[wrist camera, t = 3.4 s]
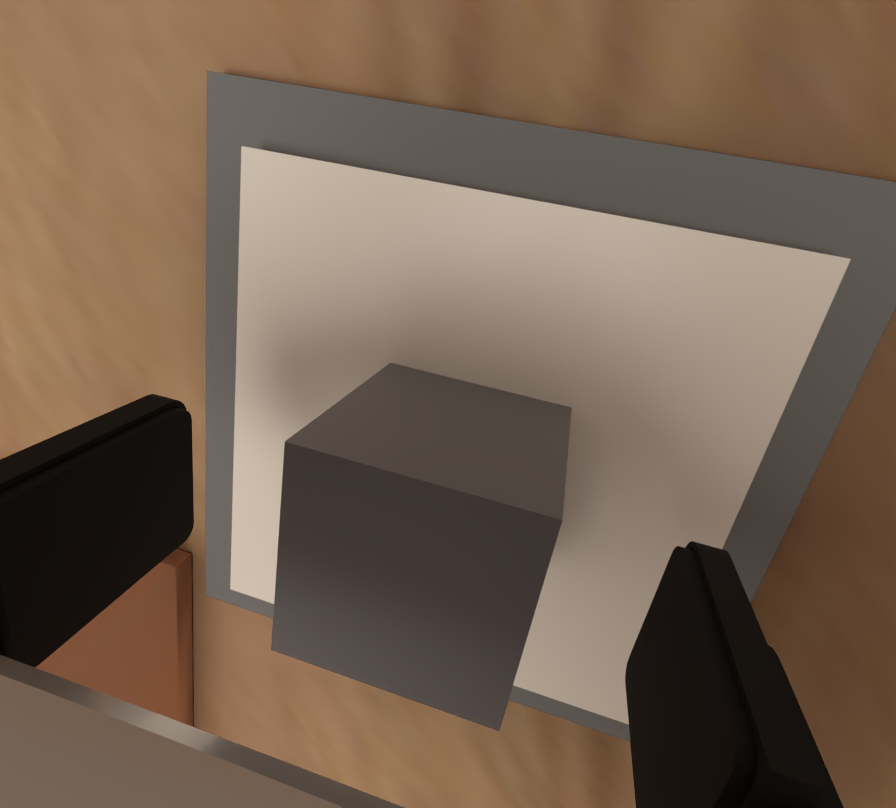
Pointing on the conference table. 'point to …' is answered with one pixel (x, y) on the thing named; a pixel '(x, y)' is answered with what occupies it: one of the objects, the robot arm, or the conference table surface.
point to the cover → (491, 424)
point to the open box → (139, 644)
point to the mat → (574, 185)
